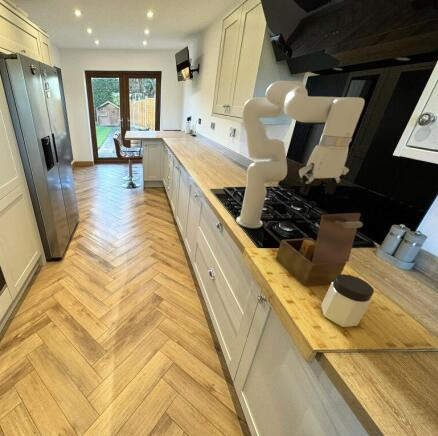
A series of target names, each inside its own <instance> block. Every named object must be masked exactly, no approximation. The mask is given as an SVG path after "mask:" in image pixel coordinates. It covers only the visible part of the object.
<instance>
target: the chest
mask: <svg viewBox="0 0 438 436" xmlns="http://www.w3.org/2000/svg"><path fill="white" fill-rule="evenodd" d="M304 240H311V241H313V242H314V243H316V241H317V240H314V239H313V238H312V237H307V238H305V237H304V238H291V239H289V238H288V239H281V241H280V244H279V246H278V250H277V253H276V256H275V260H276V261H278V263H280V264H281V266H283V267H284V268H285V269H286V270H287V271H288V272H289V273H290V274H291V275H292V276H293V277H294V278H295V279H296V280H297V281H298V282H299V283H300V284H301V285H302V286H304V287H305V286H317V285H328V284H331V283H332V282H334V280H335V278H336V277H337V276H338V275H341V274H342V273H343V271H344V268H345V267H346V265H347V262H336V263H324V264H312V260H313V255H314V253H313V255H312V258H311V260H310V261H309V260H308V259H306V258H305V257H304V256H303V255H302V254H300V253H299V251H300V249H301V246H302V243H303V241H304Z"/></svg>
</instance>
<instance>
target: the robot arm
mask: <svg viewBox="0 0 438 436" xmlns="http://www.w3.org/2000/svg"><path fill="white" fill-rule="evenodd" d="M364 106H365V99H364V98H362V97H357V96H356V97H354V96H353V97H351V96H345V97H339V96H338V97H337V96H311V95H309V94H308V90H307V88H306V86H305V84H304V83H303V82H302V81H298V80H277V81H274V82H272V83H271V84H270V85H269V86H268V87H267V89H266V91H265V96H264V97H263V96H260V97H259V96H257V97H251V98H250V99H248V100H247V101H246V102H245V103H244V105H243V107H242V112H241V120H242V124H243V127H244V130H245V136H246V146H247V153H248V157H249V158H250V159H251V160H255V162H252V163H250V164H249V166H248V167H247V170H246V186H245V190H244V195H243V196H244V197H243V201H242V206H241V209H240V215H239V216H237V217H236V220H235V221H236V223H237V224H238V225H239V226H241V227H244V228H247V229H259V228H262V227H263V221H262V220H261V217H262V214H263V210H264V205H265V202H266V197H267V192H268V191H267V187H266V185H265V183H274V182H281V181H284V180H285V179H286V178H287V174H288V162H287V155H286V147H285V144H284V143H283V141H282V140H281V139H278V138H268V136H267V130H266V126H265V125H264V123H263V122H262V121H261V120H260V119H276V118H279V117H281V116H283V115H284V114H285V115H286V116H287V117H288V118H289V119H292V120H294V121H296V122H300V123H325V124H324V128H323V131H322V133H321V137H320V139H319V143H318V144H316V145H315V147H314V149H313V150H312V151H311V154H310V156H309V158H308V161H307V163H306V166H304V167H302V168H300V169H299V170H298V174H299V179H300V181H301V185H300V188H299V191H298V193H300V194H301V195H304V196H308V195H309V192H310V189H311V186H312V184H311V183H312V182H313V181H314V180H315V179H329V180H328V181H327V183H326V186H325V188H324V192H325V193H327V194H329V195H334V194H335V192H336V189H337V187H338V184H339V183H341V181H342V179H344V178H345V177H346V175H347V174H348V173H349V171H350V168H348V167H346V166H345V165H346V161H347V158H348V154H349V148H350V147H349V145H350V143H351V142H352V140H353V135H354V132H355V130H356V128H357V126H358V125H357V124H358V123H359V119H360V117H361V114H362V113H363V109H364ZM256 160H257V161H256ZM259 160H260V161H259ZM262 160H263V161H262Z"/></svg>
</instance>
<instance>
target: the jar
mask: <svg viewBox="0 0 438 436" xmlns="http://www.w3.org/2000/svg"><path fill="white" fill-rule="evenodd" d="M374 293H375V289H374V288H373V286H372V285H371V284H369V283H368V282H367V281H365V280H364V279H362V278H360V277H357V276H354V275H351V274H345V273H343V274H342V273H341V275H338V276H337V277H336V278H335V280H334V282H332V283H330V285H329V287H328V289H327V292H326V294H325V295H324V298H323V300H322V303H321V305H320V307H321V310H322V313H323V316H324V318H327V319H328V320H330V321H331V322H333V323H335V324H336V325H338V326H340V327H341V328H346V327H357V326H359V324H360V322H361V320H362V318H363V316H364V315H365V314H366V311H367V310H368V308H369V306H370V304H371V303H372V300H371V298H372V297H373V295H374Z"/></svg>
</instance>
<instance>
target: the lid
mask: <svg viewBox="0 0 438 436" xmlns="http://www.w3.org/2000/svg"><path fill="white" fill-rule="evenodd" d="M360 218H361V213H360V212H353V213H352V212H350V213H349V212H348V213H327V214H321V218H320V223H319V228H318V232H317V237H316V240H315V241H316V246H315V250H314V255H313V260H312V264H324V263H336V262H346V263H348V262H349V261H350V257H351V252H352V248H353V246H354V241H355V237H356V234H357V230H358V229H359V228H362V227H363V225H364V224H363V222H362V221H360Z"/></svg>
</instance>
